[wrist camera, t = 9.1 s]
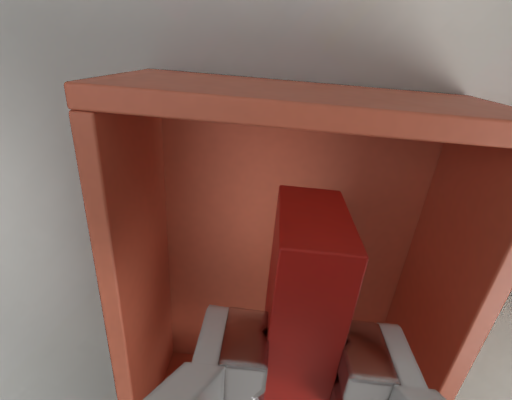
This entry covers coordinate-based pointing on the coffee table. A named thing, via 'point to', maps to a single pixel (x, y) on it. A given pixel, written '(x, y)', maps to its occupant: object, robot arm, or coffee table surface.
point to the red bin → (265, 204)
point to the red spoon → (310, 291)
